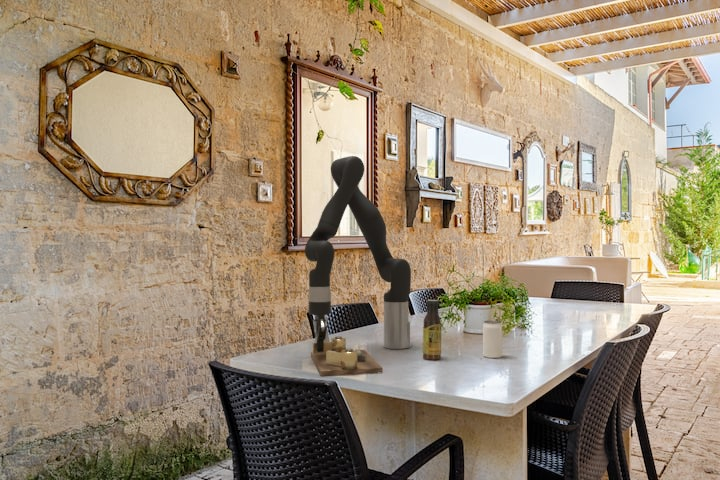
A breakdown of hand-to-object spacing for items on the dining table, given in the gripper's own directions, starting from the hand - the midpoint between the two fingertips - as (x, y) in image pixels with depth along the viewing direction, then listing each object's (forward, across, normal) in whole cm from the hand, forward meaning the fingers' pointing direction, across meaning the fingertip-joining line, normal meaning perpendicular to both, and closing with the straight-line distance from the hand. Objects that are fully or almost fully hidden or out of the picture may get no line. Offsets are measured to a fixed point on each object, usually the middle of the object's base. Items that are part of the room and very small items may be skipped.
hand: (320, 351), depth 198 cm
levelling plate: (+3, -6, -7) cm, 10 cm away
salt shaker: (+3, +17, -4) cm, 18 cm away
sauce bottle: (+3, -6, -38) cm, 38 cm away
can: (+3, -10, -58) cm, 59 cm away
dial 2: (+2, -16, -4) cm, 17 cm away
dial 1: (+2, +3, -4) cm, 5 cm away
